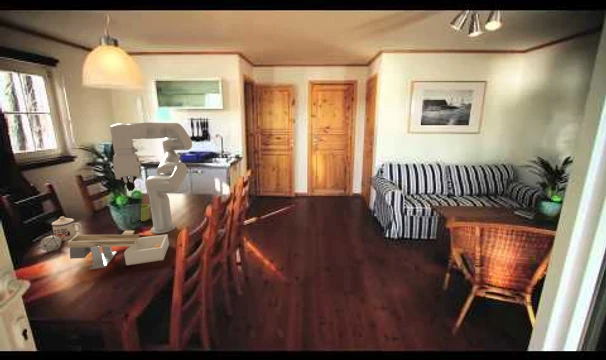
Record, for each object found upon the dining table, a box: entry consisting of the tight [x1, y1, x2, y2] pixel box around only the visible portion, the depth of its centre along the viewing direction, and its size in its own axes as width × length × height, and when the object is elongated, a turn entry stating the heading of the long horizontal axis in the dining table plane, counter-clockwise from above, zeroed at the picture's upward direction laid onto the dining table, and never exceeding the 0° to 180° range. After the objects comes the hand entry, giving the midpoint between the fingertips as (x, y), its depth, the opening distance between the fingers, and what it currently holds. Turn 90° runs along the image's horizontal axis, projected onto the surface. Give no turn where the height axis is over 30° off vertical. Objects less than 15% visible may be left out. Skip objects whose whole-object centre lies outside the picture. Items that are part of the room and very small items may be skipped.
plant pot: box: [140, 204, 151, 222], centre depth 164 cm, size 9×9×9 cm
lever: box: [67, 229, 140, 259], centre depth 120 cm, size 16×24×8 cm, turn 108°
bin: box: [123, 233, 170, 266], centre depth 122 cm, size 15×15×6 cm
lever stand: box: [88, 245, 117, 271], centre depth 117 cm, size 13×6×10 cm, turn 18°
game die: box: [36, 233, 64, 255], centre depth 125 cm, size 9×8×10 cm
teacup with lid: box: [51, 216, 83, 242], centre depth 140 cm, size 12×9×12 cm
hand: (131, 190), depth 125 cm, fingers closed
